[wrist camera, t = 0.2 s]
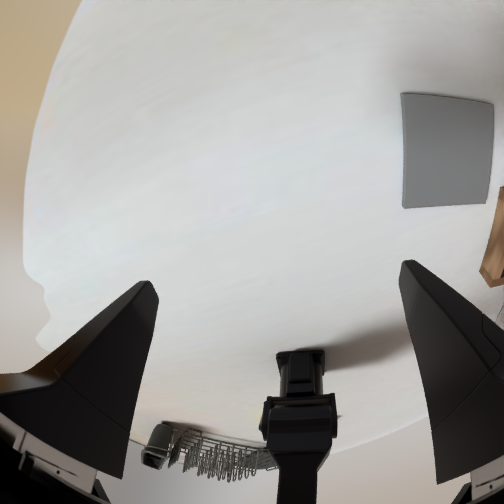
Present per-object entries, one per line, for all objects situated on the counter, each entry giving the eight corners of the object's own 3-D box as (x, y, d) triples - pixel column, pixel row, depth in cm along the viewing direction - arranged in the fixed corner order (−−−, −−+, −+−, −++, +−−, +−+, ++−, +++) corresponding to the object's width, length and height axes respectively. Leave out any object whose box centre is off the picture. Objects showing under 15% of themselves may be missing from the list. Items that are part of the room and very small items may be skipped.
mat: (482, 200, 20) (485, 203, 20) (402, 205, 22) (404, 208, 22) (489, 103, 15) (493, 104, 14) (400, 93, 17) (403, 93, 16)
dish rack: (151, 412, 59) (139, 452, 49) (306, 446, 64) (305, 482, 55) (148, 436, 78) (140, 464, 68) (262, 463, 84) (259, 489, 74)
